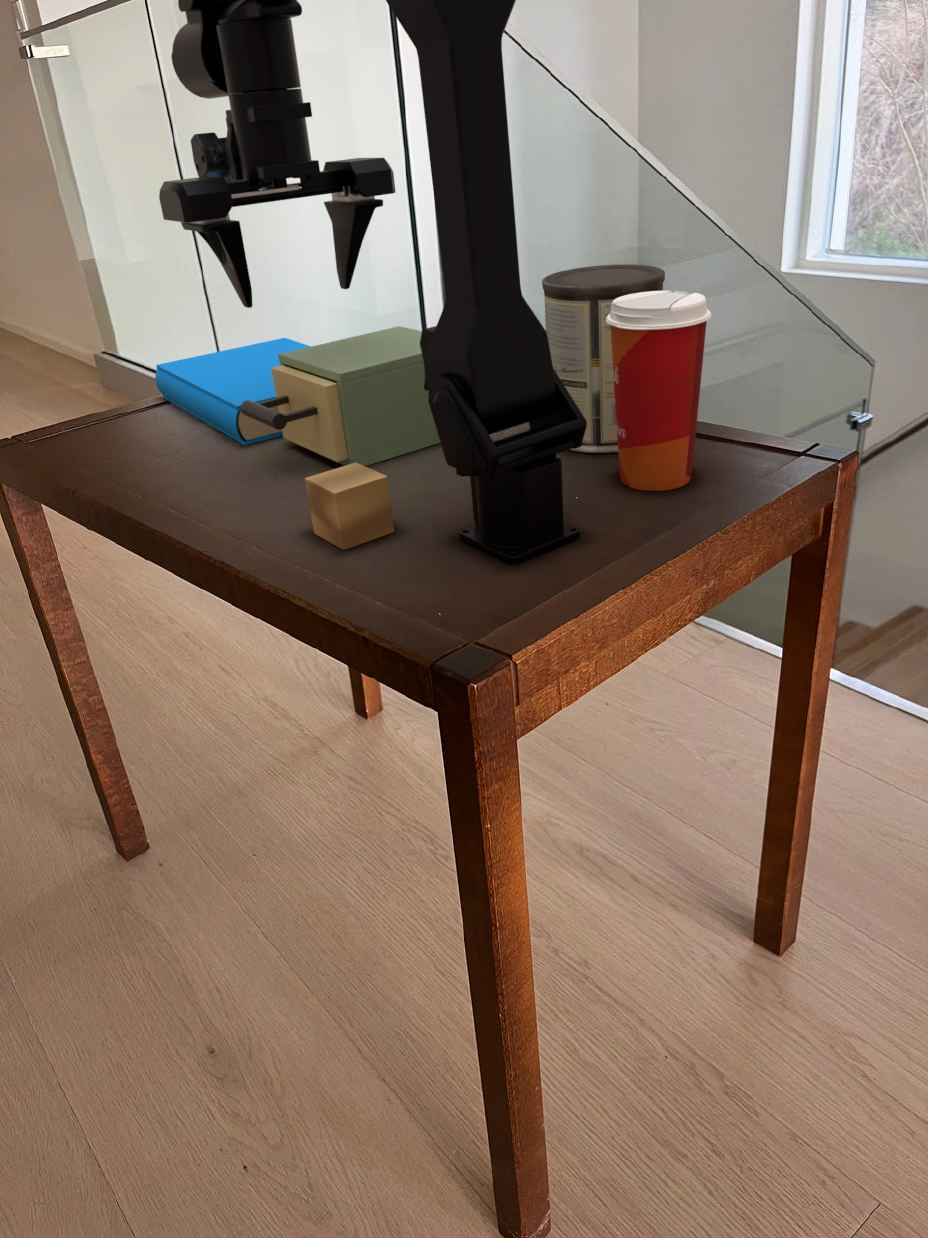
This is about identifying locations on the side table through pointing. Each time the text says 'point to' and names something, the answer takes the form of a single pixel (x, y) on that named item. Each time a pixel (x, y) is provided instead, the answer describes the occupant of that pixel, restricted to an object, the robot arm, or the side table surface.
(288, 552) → the side table surface
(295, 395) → the drawer
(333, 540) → the block
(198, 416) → the book
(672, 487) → the paper cup
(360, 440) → the cabinet
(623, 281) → the coffee can
